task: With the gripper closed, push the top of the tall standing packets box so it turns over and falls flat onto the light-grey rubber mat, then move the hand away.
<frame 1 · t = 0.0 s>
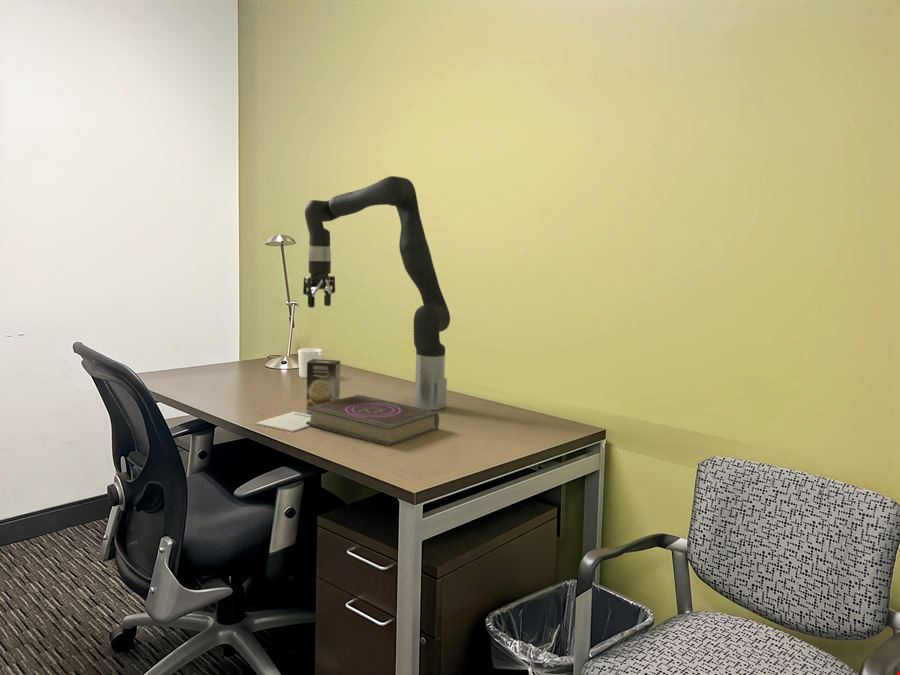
hand: (319, 306, 240), 29 cm above the table, fingers open, 8 cm apart
mug: (312, 377, 265), on the table
mat: (293, 421, 200), on the table
book: (372, 427, 197), on the table, touching mat
coffee box: (323, 413, 212), on the table
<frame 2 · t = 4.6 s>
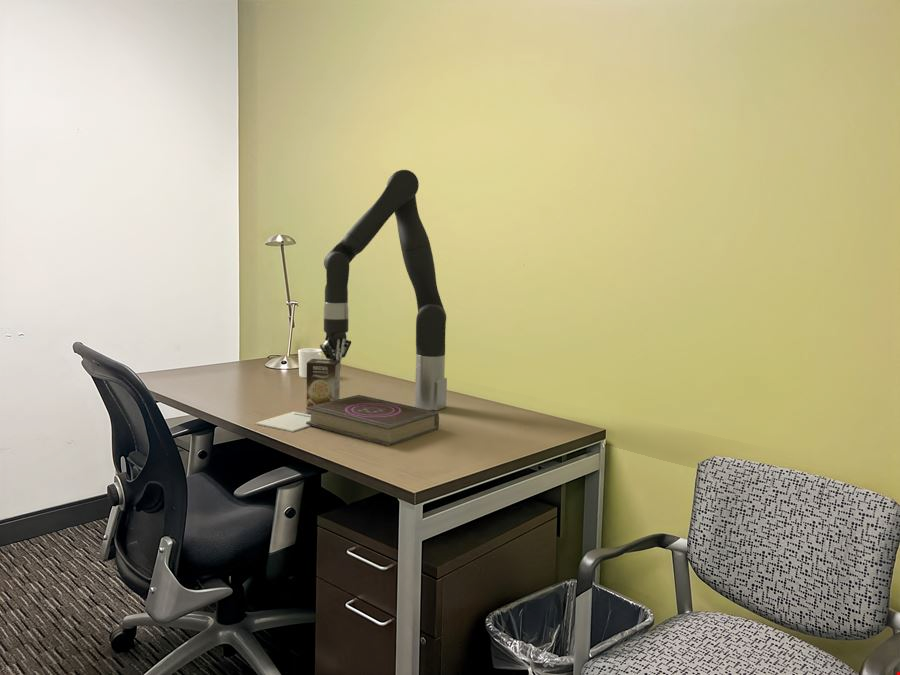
hand: (335, 371, 216), 12 cm above the table, fingers closed
coffee box: (323, 413, 212), on the table, touching gripper, hand
everything else where it was.
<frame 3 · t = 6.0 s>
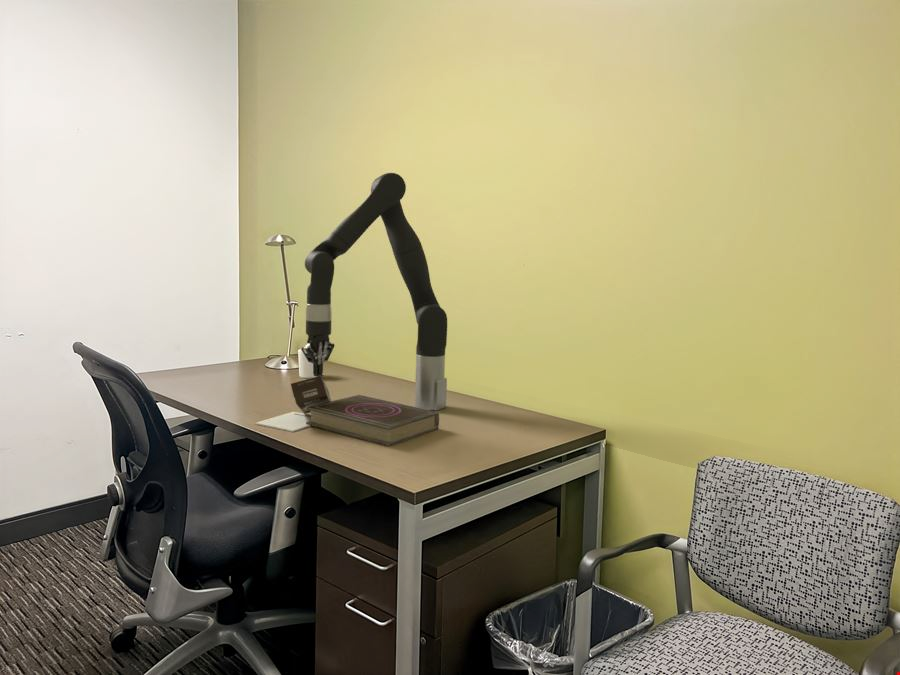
hand: (318, 375, 208), 12 cm above the table, fingers closed
coffee box: (316, 400, 211), point 4 cm above the table
everything else where it was.
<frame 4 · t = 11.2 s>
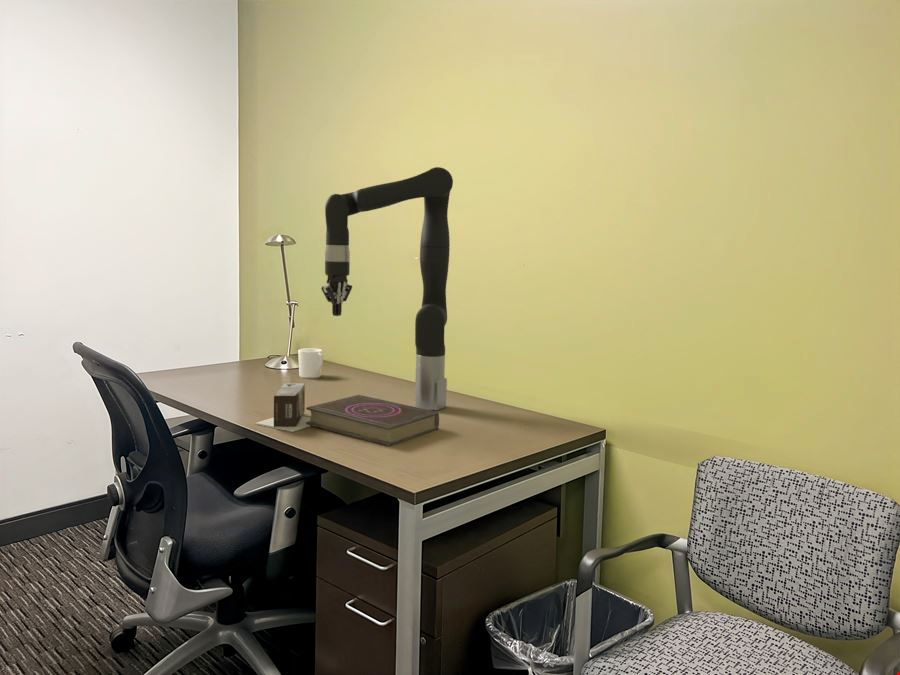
hand: (336, 315, 217), 29 cm above the table, fingers closed
coffee box: (294, 397, 208), point 5 cm above the table, touching mat
everything else where it was.
at the end: coffee box tilted 92°; coffee box inside the target area (8.7 cm from its centre), point 5.1 cm above the table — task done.
